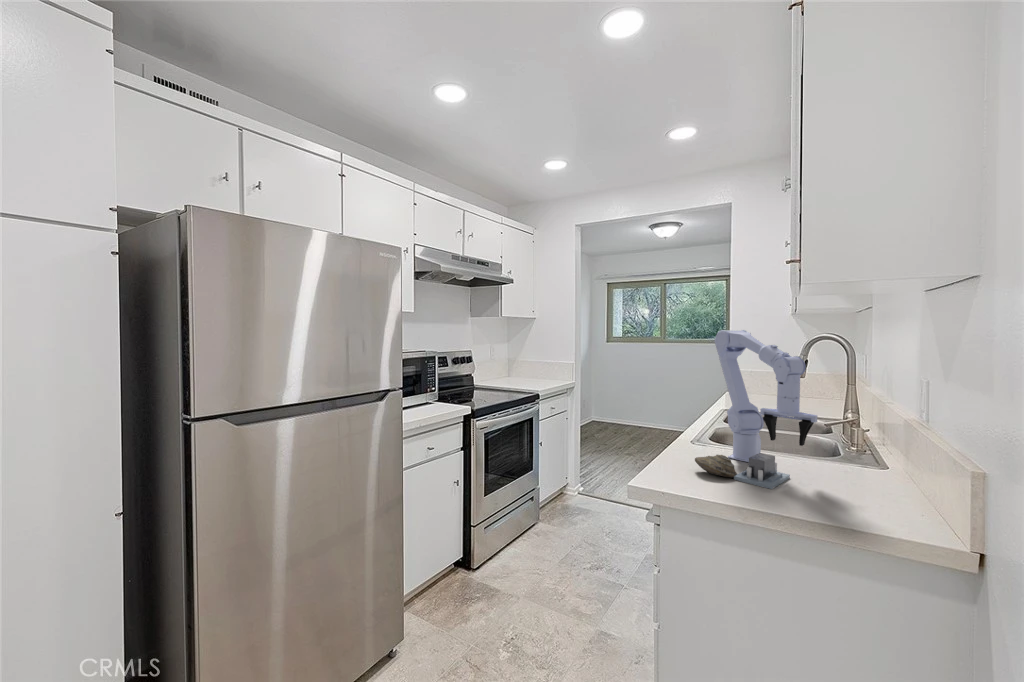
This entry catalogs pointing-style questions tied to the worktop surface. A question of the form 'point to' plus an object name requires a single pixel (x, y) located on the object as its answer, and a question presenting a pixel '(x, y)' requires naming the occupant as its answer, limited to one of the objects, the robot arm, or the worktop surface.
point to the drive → (762, 465)
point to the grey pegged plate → (767, 483)
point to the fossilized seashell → (717, 465)
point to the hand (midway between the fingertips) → (787, 442)
